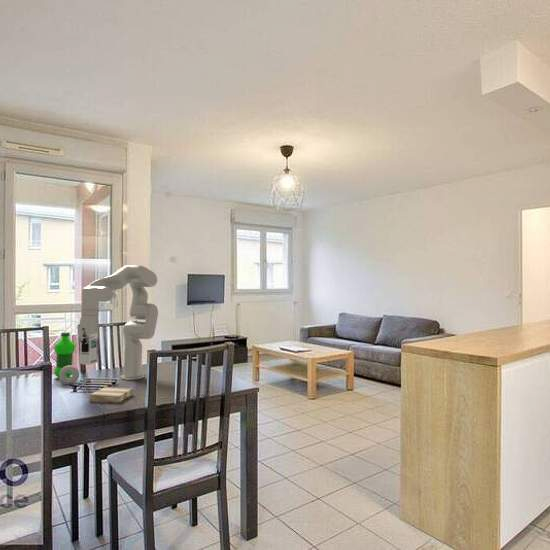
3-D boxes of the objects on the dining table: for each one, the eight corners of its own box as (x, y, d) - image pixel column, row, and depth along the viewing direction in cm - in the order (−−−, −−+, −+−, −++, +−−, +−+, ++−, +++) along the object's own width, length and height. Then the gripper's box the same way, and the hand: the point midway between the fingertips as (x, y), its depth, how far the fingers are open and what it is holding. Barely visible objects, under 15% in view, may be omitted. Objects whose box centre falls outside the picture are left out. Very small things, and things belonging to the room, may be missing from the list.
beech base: (104, 393, 204) (105, 387, 204) (132, 394, 202) (132, 388, 202) (89, 401, 190) (89, 394, 190) (118, 403, 188) (119, 396, 188)
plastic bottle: (68, 374, 239) (70, 331, 240) (77, 377, 233) (78, 332, 233) (50, 377, 232) (51, 332, 232) (59, 380, 225) (60, 334, 225)
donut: (80, 383, 220) (80, 364, 221) (77, 385, 217) (78, 365, 217) (59, 383, 219) (60, 364, 219) (57, 385, 216) (58, 366, 216)
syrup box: (90, 364, 196) (91, 333, 196) (79, 364, 197) (79, 333, 197) (97, 362, 202) (98, 332, 202) (87, 361, 203) (87, 331, 203)
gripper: (92, 311, 209) (91, 347, 208) (71, 314, 191) (70, 353, 191) (106, 311, 208) (105, 348, 208) (87, 314, 191) (86, 354, 190)
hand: (88, 350), depth 199 cm, fingers closed on syrup box, 6 cm apart
